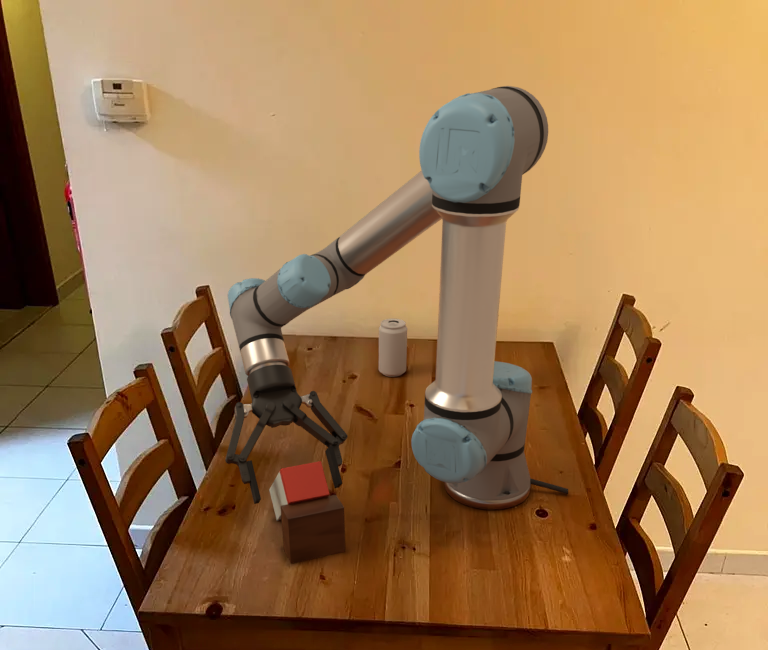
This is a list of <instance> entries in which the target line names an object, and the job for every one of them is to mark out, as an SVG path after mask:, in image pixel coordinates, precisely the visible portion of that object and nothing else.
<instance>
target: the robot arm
mask: <svg viewBox="0 0 768 650" xmlns="http://www.w3.org/2000/svg"><path fill="white" fill-rule="evenodd" d="M545 111H546V110H545V109H544V107H543V105H542V104H541V102H540V100H538V99H537V98H536V96H534V95H533V94H532V93H531V92H529V91H527V90H526V89H524V88H521V87H518V86H512V85H504V86H497V87H494V88H491V89H487V90H482V91H477V92H471V93H470V92H468V93H467V92H466V93H465V94H461V95H459V96H457V97H455V98H453V99H452V100H450V101H448V102H446V103H445V104H443V105H442V106H440V107H439V108H438V109H436V111H435V112H434V113H433V114H432V115H431V117H430V118H429V119H428V121H427V123H426V125H425V127H424V129H423V132H422V135H421V138H420V141H419V150H418V153H419V155H418V156H419V158H418V159H419V165H420V166H419V167H420V171H419V172H418V173H417V174H415V175H414V176H413V177H411V178H410V179H409V180H408V181H406V182H405V183H404V184H403V185H402V186H400V187H399V188H397V190H395V191H394V192H393V193H391V194H390V195H389V196H388V197H387V198H385V199H384V200H383V201H382V202H380V203H379V204H378V205H377V206H375V207H374V208H373V209H372V210H370V211H369V212H368V213H367V214H366V215H364V216H363V217H362V218H360V219H359V220H358V221H357V222H356V223H354V224H353V225H352V226H350V228H348V229H346V230H345V231H344V232H343V233H342V234H340V235H339V236H338V237H337V238H336V239H334V240H333V241H332V242H331V243H329V244H328V245H327V246H326V247H324V248H322V249H321V250H319V251H318V252H315V253H313V254H311V255H309V254H307V253H301V254H299V255H297V256H296V257H294V258H292V259H291V260H289V261H286V262H285V263H283V264H282V266H281V267H280V268H279V269H278V270H277V271H275V272H274V273H273V274H271V276H269V277H268V278H267V279H266V280H265V279H262V278H259V277H258V278H257V277H250V278H245V279H243V280H242V281H239V282H235V283H234V284H233V285H232V286H230V288H229V289H228V292H227V301H228V307H229V317H230V318H231V321H232V325H233V329H234V332H235V337H236V340H237V344H238V349H239V353H240V357H241V360H242V364H243V369H244V373H245V375H246V376H247V378H246V382H247V386H248V391H249V394H250V398H251V403H245V404H244V403H242V402H240V401H238V402H236V404H235V406H234V419H235V422H234V425H233V428H232V433H231V436H230V439H229V444H228V448H227V451H226V455H225V463H226V464H228V465H230V464H231V465H232V464H233V465H236V466H237V467H238V470H239V474H240V479H241V481H242V484H243V485H246V484H247V485H248V484H249V488H250V492H251V496H252V501H253V505H257V504H260V503H261V500H262V497H261V493H260V489H259V485H258V480H257V477H256V472H255V468H254V464H253V460H248V459H249V456H250V454H251V453H252V452H253V449H254V447H255V446H256V444H257V442H258V441H259V438H260V437H261V435H262V433H263V431H264V429H265V428H266V426H267V427H270V429H273V428H278V427H280V426H285V427H286V426H290V425H291V424H295V425H296V426H298V427H300V428H302V429H303V430H305V431H306V432H307V433H309V434H310V435H311V436H312V437H314V438H315V440H318V442H320V443H322V444H323V445H324V446H326V447H327V448H325V449H326V450H325V451H324V452H325V456H326V457H325V458H326V460H327V464H328V468H329V472H330V476H331V480H332V484H333V487H334V489H338V488H340V487H341V486H342V485H343V480H342V475H341V472H340V469H339V467H341V466H342V465H343V457H342V453H341V449H340V446H341V445H343V444H345V441H347V439H348V438H349V437H348V434H347V433H346V431H345V430H344V429H343V428H342V427H341V425H340V424H339V423H338V422H337V421H336V419H335V418H334V417H333V416H332V414H331V413H330V412H329V411H328V410H327V409H326V407H325V406H324V405H323V404H322V403H321V401H320V398H319V395H318V392H317V391H316V390H311V391H310V392H309V393H307V394H305V395H304V394H303V395H300V394H299V392H298V391H297V387H296V382H295V379H294V374H293V371H292V369H291V368H290V364H291V363H290V359H289V356H288V352H287V348H286V344H285V339H284V336H283V332H282V328H283V327H284V326H286V325H288V324H289V323H290V322H292V321H293V320H294V319H296V318H297V317H299V316H300V315H302V314H304V313H305V312H306V311H308V310H310V309H312V308H314V307H316V306H317V305H319V304H321V303H323V302H325V301H326V300H328V299H331V298H332V297H333V296H335V295H338V294H340V293H341V292H344V291H345V290H349V289H351V288H352V287H354V286H356V285H357V284H359V283H360V281H362V280H363V279H364V278H365V276H366V275H367V274H368V273H370V272H371V271H373V270H374V269H375V268H377V267H378V266H379V265H381V264H383V262H385V261H386V260H388V259H389V258H391V257H392V256H394V254H396V253H397V252H398V251H401V249H403V248H404V247H406V246H407V245H408V244H410V243H411V242H413V241H414V240H416V238H418V237H419V236H421V235H422V234H423V233H425V232H427V230H429V229H430V228H431V227H433V226H434V225H436V224H437V223H439V222H440V221H442V224H441V225H442V227H441V250H440V271H439V293H438V314H437V315H438V317H437V338H436V342H437V343H436V362H435V380H434V381H432V382H431V383H430V384H429V385H428V386H427V387H426V388H425V392H424V409H423V420H421V421H420V422H419V423H418V424H417V425H416V427H415V429H414V430H413V432H412V434H411V435H412V436H411V443H410V444H411V445H410V446H411V450H412V454H413V456H414V458H415V461H416V462H417V463H418V465H419V466H421V468H423V469H424V472H426V473H427V474H428V475H430V476H431V477H432V478H434V479H436V480H438V481H440V482H443V483H444V490H445V491H446V493H447V494H448V496H450V497H451V498H452V499H453V500H454V501H456V502H458V503H460V504H461V505H465V506H468V507H471V508H474V509H479V510H505V509H509V508H513V507H516V506H518V505H520V504H522V503H523V502H525V501H526V500H527V499H528V497H529V496H530V493H531V486H532V485H533V486H535V487H539V488H540V487H541V488H544V489H547V490H551V491H554V492H558V493H561V494H565V495H569V488H567V487H563V486H560V485H556V484H553V483H549V482H545V481H541V480H537V479H534V478H531V476H530V471H529V467H528V462H527V458H526V453H525V447H526V440H527V439H526V438H527V432H528V431H527V430H528V423H529V415H530V414H529V413H530V405H531V397H532V394H533V389H532V386H533V378H532V375H531V373H530V372H529V371H528V370H526V369H525V368H524V367H521V366H519V365H517V364H513V363H509V362H503V361H497V360H495V358H496V349H497V348H496V347H497V337H498V336H497V335H498V325H499V313H500V302H501V301H500V300H501V291H502V290H501V289H502V277H503V267H504V266H503V265H504V255H505V254H504V253H505V243H506V232H507V231H506V230H507V221H508V220H509V219H510V218H511V217H512V216H513V215H515V214H516V213H517V212H518V211H519V209H520V204H521V194H522V193H521V192H522V183H523V175H524V174H526V173H528V172H529V171H531V170H532V169H533V168H534V167H535V166H536V164H537V163H538V162H539V161H540V159H541V158H542V155H543V154H544V152H545V150H546V147H547V143H548V139H549V138H548V137H549V122H548V117H547V114H546V112H545ZM302 405H305V406H306V407H307V408H309V409H310V410H311V412H312V414H314V415H315V417H316V418H317V419H318V420H319V422H320V423H321V424H322V425H323V427H322V426H321V425H319V424H318V423H317V422H315V421H314V420H313V419H312V418H310V417H309V416H308V415H307V414H306V412H304V411H303V410H302V409H301V406H302ZM249 413H252V414H253V415H254V416H255V417H256V418H258V421H257V423H256V425H255V427H254V429H253V430H252V432H251V434H250V436H249V437H248V439H247V440H246V443H245V444H244V447H243V448H242V450H241V452H240V453H239V454H237V453H236V451H237V448H238V445H239V444H238V443H239V439H240V436H241V433H242V429H243V426H244V420H245V419H246V418H248V417H249Z"/></svg>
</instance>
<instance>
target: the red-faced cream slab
mask: <svg viewBox="0 0 768 650" xmlns="http://www.w3.org/2000/svg"><path fill="white" fill-rule="evenodd" d="M326 478H327V477H326V474H325V471H324V467H323V463H322V461H321V460H319V461H314V462H308V463H303V464H299V465H298V464H297V465H292V466H288V467H283V468H282V467H281V468H280V470H279V472H278V473H277V475H276V477H275V479H274V480H273V482H272V484H271V486H270V487H269V495H270V498H271V502H272V506H273V511H274V515H275V519H276V521H282V517H281V506H282V505H287V504H292V503H297V502H302V501H307V500H312V499H317V498H322V497H327V496H330V490H329V487H328V482H327V479H326Z"/></svg>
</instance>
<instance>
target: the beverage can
mask: <svg viewBox="0 0 768 650" xmlns="http://www.w3.org/2000/svg"><path fill="white" fill-rule="evenodd" d="M407 353H408V327H407V323H406V321H405V320H403V319H401V318H400V319H399V318H386V319H383V320H381V321H380V324H379V326H378V371H379V373H381V374H382V375H383V376H385V377H389V378H391V377H392V378H396V377H400V376H402V375H403V374H404V373H405V372H406V371H407V357H408V354H407Z"/></svg>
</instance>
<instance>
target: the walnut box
mask: <svg viewBox="0 0 768 650" xmlns="http://www.w3.org/2000/svg"><path fill="white" fill-rule="evenodd" d="M281 517H282V520H281V529H282V542H283V543H282V544H283V551H284V553H285V555H286V557H287V559H288V562H289V563H290V564H291V565H292V564H297V563H300V562H305V561H310V560H313V559H318V558H321V557H322V558H323V557H327V556H333V555H336V554H339V553H340V554H341V553H345V552H346V529H345V528H346V525H345V524H346V523H345V521H346V520H345V519H346V518H345V506H344V505H343V503H342V501H341V500H340V499H339V497H338V496H337V494H332V495H328V496H327V497H322V498H317V499H312V500H307V501H302V502H297V503H292V504H287V505H282V506H281Z"/></svg>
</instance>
